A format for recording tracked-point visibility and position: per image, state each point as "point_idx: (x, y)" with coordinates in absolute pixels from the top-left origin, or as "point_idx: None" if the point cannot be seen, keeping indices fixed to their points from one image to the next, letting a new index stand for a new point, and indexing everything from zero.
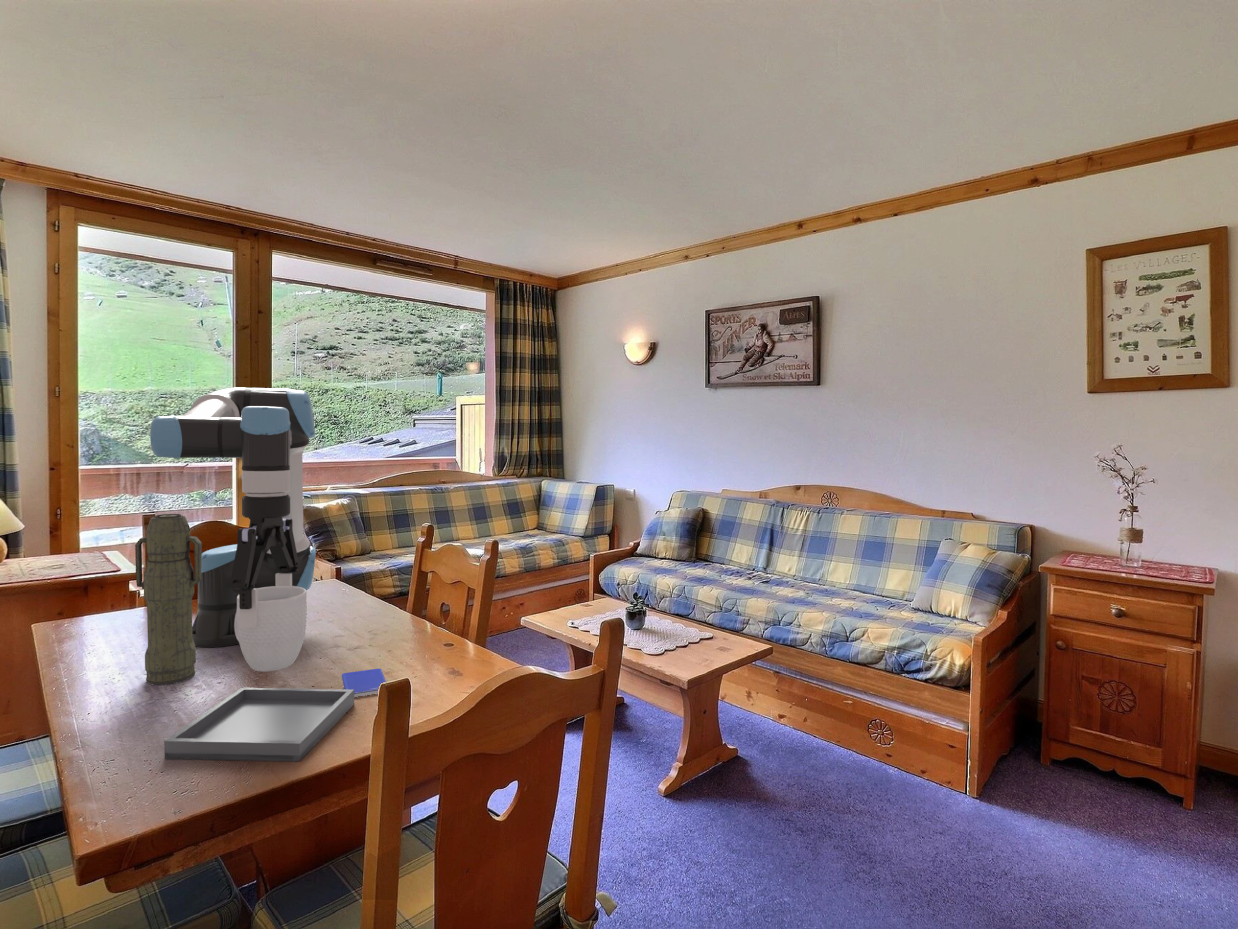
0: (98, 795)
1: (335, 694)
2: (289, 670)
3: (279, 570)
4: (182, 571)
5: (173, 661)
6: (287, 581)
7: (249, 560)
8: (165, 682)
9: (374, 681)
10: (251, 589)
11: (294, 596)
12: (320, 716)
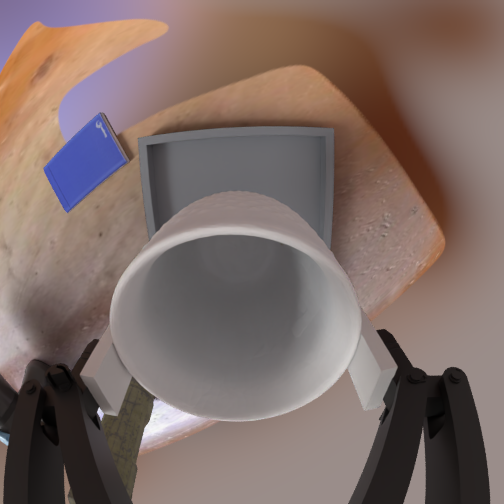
0: (380, 297)
1: (149, 163)
2: (73, 291)
3: (97, 417)
4: None
5: (140, 399)
6: (108, 363)
7: (482, 458)
8: None
9: (81, 147)
10: (416, 368)
11: (283, 239)
12: (207, 156)
